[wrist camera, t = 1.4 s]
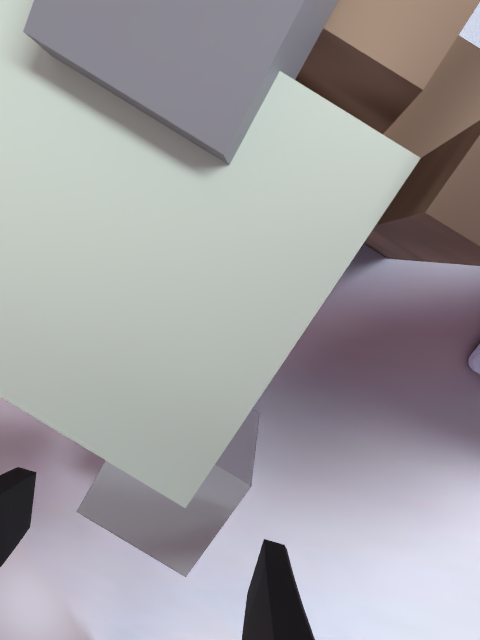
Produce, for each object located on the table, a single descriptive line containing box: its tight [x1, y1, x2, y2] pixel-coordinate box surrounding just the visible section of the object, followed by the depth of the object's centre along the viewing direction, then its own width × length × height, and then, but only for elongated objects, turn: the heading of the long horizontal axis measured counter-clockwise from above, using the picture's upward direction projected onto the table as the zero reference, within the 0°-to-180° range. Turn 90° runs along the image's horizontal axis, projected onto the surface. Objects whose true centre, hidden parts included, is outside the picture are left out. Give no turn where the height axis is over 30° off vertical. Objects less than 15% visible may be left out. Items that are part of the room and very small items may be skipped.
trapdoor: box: [0, 0, 420, 508], centre depth 7 cm, size 11×18×3 cm, turn 149°
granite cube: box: [77, 409, 259, 577], centre depth 14 cm, size 4×4×5 cm
